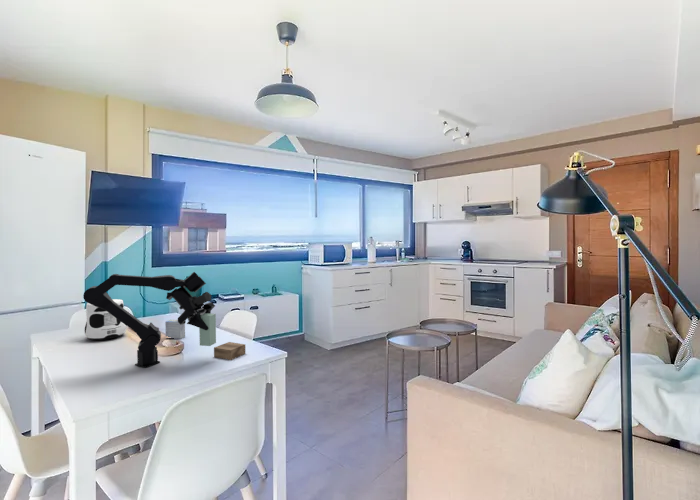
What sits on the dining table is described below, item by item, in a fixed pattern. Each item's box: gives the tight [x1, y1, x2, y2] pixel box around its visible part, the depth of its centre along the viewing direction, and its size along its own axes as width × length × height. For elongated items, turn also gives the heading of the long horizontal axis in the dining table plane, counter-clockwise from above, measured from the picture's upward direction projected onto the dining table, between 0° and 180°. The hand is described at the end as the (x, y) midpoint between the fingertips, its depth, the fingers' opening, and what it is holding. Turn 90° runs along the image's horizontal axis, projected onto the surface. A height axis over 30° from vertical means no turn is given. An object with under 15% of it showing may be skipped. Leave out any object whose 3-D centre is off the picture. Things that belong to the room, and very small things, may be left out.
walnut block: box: [213, 341, 246, 361], centre depth 157 cm, size 9×9×4 cm
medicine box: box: [164, 319, 186, 340], centre depth 184 cm, size 8×4×9 cm, turn 84°
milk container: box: [84, 298, 127, 341], centre depth 185 cm, size 17×17×18 cm
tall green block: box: [198, 313, 217, 347], centre depth 149 cm, size 4×4×12 cm
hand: (210, 328), depth 149 cm, fingers closed on tall green block, 4 cm apart
